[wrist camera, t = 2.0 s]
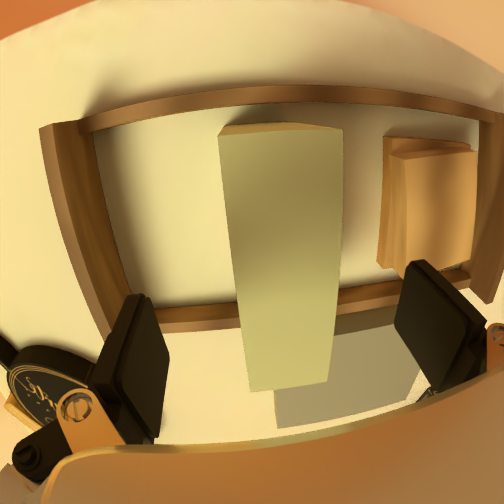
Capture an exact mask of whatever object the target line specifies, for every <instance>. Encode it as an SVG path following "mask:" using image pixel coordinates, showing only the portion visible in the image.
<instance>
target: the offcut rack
mask: <svg viewBox="0 0 504 504" xmlns="http://www.w3.org/2000/svg"><path fill="white" fill-rule="evenodd" d="M295 102H332V103H358V104H373V105H385V106H395V107H404V108H412V109H420V110H427V111H433V112H439V113H445V114H450V115H456V116H461V117H466V118H470V119H475V120H479V121H480V122H479V154H478V167H477V196H476V212H475V224H474V233H473V242H472V249H471V256H470V259H469V260H466V261H464V262H462V263H461V267H460V269H455V270H450V271H445V272H440V274H441V275H443V276H444V277H445V278H446V279H447V280H448V281H449V282H450V283H451V284H452V285H453V286H454V287H455V288H456V289H457V290H461V289H465V288H468V287H469V288H470V289H471V290H472V291H473V292H474V293H475V294H476V295H477V296H478V297H479V298H480V299H481V300H482V301H483V302H484V303H485V304H489V303H492V302H493V299H494V297H495V294H496V291H497V288H498V285H499V282H500V279H501V276H502V273H503V270H504V114H503V113H497V112H493V111H490V110H486V109H483V108H479V107H475V106H472V105H468V104H464V103H459V102H455V101H451V100H446V99H441V98H436V97H431V96H426V95H420V94H414V93H407V92H400V91H393V90H384V89H375V88H364V87H351V86H331V85H275V86H256V87H242V88H231V89H221V90H213V91H205V92H197V93H191V94H184V95H178V96H172V97H167V98H161V99H156V100H151V101H147V102H142V103H138V104H133V105H129V106H125V107H121V108H117V109H113V110H110V111H106V112H102V113H99V114H95V115H92V116H89V117H85V118H82V119H79V120H74V121H66V122H59V123H52V124H49V125H47V126H44V127H42V128H39V134H40V141H41V148H42V154H43V159H44V165H45V170H46V175H47V179H48V184H49V188H50V193H51V197H52V201H53V205H54V209H55V212H56V216H57V220H58V223H59V227H60V230H61V233H62V237H63V240H64V243H65V246H66V249H67V252H68V255H69V258H70V261H71V264H72V267H73V269H74V272H75V275H76V278H77V280H78V283H79V285H80V288H81V290H82V293H83V295H84V298H85V300H86V303H87V305H88V307H89V310H90V312H91V314H92V317H93V319H94V321H95V323H96V325H97V328H98V330H99V332H100V334H101V336H102V338H103V340H104V342H105V341H106V338H107V336H108V334H109V333H111V331H112V329H113V326H114V324H115V321H116V319H117V317H118V314H119V312H120V310H121V308H122V305H123V303H124V301H125V299H126V296H127V295H131V292H130V289H129V286H128V283H127V280H126V277H125V274H124V271H123V267H122V264H121V261H120V257H119V254H118V250H117V247H116V243H115V240H114V236H113V232H112V228H111V224H110V220H109V216H108V212H107V208H106V204H105V199H104V195H103V190H102V185H101V180H100V175H99V170H98V165H97V159H96V154H95V147H94V141H93V134H92V132H96V131H99V130H103V129H107V128H111V127H115V126H119V125H123V124H127V123H131V122H136V121H141V120H145V119H150V118H155V117H160V116H166V115H172V114H177V113H184V112H190V111H197V110H204V109H212V108H221V107H230V106H241V105H253V104H269V103H295ZM402 284H403V279H402V280H396V281H390V282H384V283H378V284H372V285H365V286H359V287H352V288H346V289H339V290H338V298H337V308H336V315H340V314H346V313H352V312H358V311H364V310H369V309H375V308H380V307H385V306H390V305H395V304H398V302H399V297H400V293H401V288H402ZM154 312H155V315H156V318H157V321H158V324H159V327H160V329H161V332H162V334H163V333H180V332H196V331H209V330H221V329H232V328H241V324H240V317H239V309H238V302H232V303H221V304H211V305H199V306H187V307H174V308H160V309H154Z"/></svg>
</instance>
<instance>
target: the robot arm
mask: <svg viewBox="0 0 504 504" xmlns="http://www.w3.org/2000/svg"><path fill="white" fill-rule="evenodd" d="M486 322H487V320H486V319H485V318H484V317H483V316H482V314H481V313H480V312H479V311H478V310H477V309H476V308H475V307H474V306H473V305H472V304H471V303H470V302H469V301H468V300H467V299H466V298H465V297H464V296H463V295H462V294H461V293H460V292H459V291H458V290H457V289H456V288H455V287H454V286H453V285H452V284H451V283H450V282H449V281H448V280H447V279H446V278H445V277H444V276H443V275H441V274H440V273H439V272H438V271H437V270H436V269H435V268H434V267H433V266H432V265H431V264H430V263H428V262H427V261H426V260H425V259H420V260H414V261H411V262H410V263H409V265H408V266H407V267H406V269H405V274H404V279H403V284H402V288H401V293H400V297H399V302H398V306H397V310H396V314H395V318H394V327H395V329H396V331H397V332H398V334H399V336H400V337H401V339H402V340H403V342H404V343H405V345H406V346H407V348H408V349H409V351H410V352H411V354H412V356H413V357H414V359H415V360H416V362H417V364H418V365H419V367H420V368H421V370H422V372H423V373H424V375H425V377H426V378H427V380H428V382H429V383H430V385H431V387H432V388H433V389H436V390H437V392H438V393H439V394H436V395H434V396H431V397H429V398H426V399H424V400H421V401H419V402H416V403H413V404H410V405H407V406H405V407H402V408H399V409H396V410H393V411H390V412H386V413H383V414H380V415H377V416H373V417H370V418H366V419H363V420H359V421H355V422H351V423H347V424H343V425H339V426H335V427H331V428H326V429H321V430H316V431H311V432H306V433H301V434H295V435H289V436H282V437H276V438H268V439H260V440H251V441H241V442H228V443H211V444H185V445H160V444H154V438H158V437H159V433H160V425H161V417H162V409H163V402H164V395H165V388H166V381H167V374H168V368H169V361H170V357H169V352H168V349H167V346H166V344H165V341H164V338H163V335H162V332H161V329H160V327H159V324H158V321H157V318H156V315H155V312H154V309H153V306H152V302H151V300H150V298H149V297H145V295H144V294H131V295H127V296H126V299H125V301H124V303H123V305H122V308H121V310H120V312H119V314H118V317H117V319H116V321H115V324H114V326H113V329H112V331H111V333H109V334H108V336H107V338H106V341H105V343H104V345H103V348H102V350H101V353H100V356H99V358H98V361H97V363H96V366H95V369H94V371H93V374H92V377H91V379H90V382H89V385H88V388H87V389H83V388H80V389H74V390H71V391H69V392H68V393H66V394H65V395H64V396H63V397H62V398H61V399H60V400H59V402H58V405H57V409H56V413H57V419H55V420H53V421H52V422H50V423H48V424H47V425H45V426H44V427H42V428H40V429H39V430H37V431H35V432H34V433H32V434H31V435H29V436H27V437H26V438H24V439H22V440H21V441H20V442H19V443H17V445H16V446H15V448H14V450H13V453H12V462H13V464H12V465H10V464H8V463H7V465H6V466H5V467H4V468H3V469H2V470H1V472H0V504H504V324H502V323H493V324H491V325H490V326H489V327H488V328H487V330H486V329H485V327H484V326H485V324H486Z"/></svg>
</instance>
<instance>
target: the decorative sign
mask: <svg viewBox="0 0 504 504" xmlns="http://www.w3.org/2000/svg"><path fill="white" fill-rule="evenodd" d="M0 364H1V365H2V366H3V367H4V368H5V369H6V370H7V382H8V386H9V388H10V390H11V393H10V395H9V397H8V399H7V401H6V403H5V405H4V407H5V409H6V410H7V411H8V412H10V413H11V414H12V415H13V416H15V417H16V418H17V419H19V420H20V421H21V422H23V423H24V424H25V425H26V426H28V427H29V428H31V429H32V430H33V431H37V430H39V429H40V428H42V427H44V426H45V425H47V424H48V423H50V422H52V421H53V420H55V419H57V413H56V409H57V405H58V402H59V400H60V399H61V398H62V397H63V396H64V395H65V394H66V393H68V392H69V391H71V390H74V389H80V388H83V389H87V388H88V385H89V382H90V379H91V377H92V374H93V371H94V369H95V366H96V364H94V363H92V362H90V361H88V360H86V359H84V358H82V357H80V356H78V355H75V354H73V353H70V352H67V351H64V350H61V349H58V348H54V347H49V346H42V345H41V346H40V345H39V346H38V345H35V346H28V347H25V348H23V349H22V350H20V352H18V351H16V350H15V348H14V347H13V346H12V345H11V344H10V343H9V342H8V341H6V340H5V339H4V338H3V337H2V336H1V335H0Z"/></svg>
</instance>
